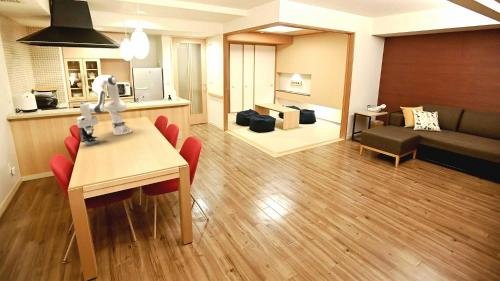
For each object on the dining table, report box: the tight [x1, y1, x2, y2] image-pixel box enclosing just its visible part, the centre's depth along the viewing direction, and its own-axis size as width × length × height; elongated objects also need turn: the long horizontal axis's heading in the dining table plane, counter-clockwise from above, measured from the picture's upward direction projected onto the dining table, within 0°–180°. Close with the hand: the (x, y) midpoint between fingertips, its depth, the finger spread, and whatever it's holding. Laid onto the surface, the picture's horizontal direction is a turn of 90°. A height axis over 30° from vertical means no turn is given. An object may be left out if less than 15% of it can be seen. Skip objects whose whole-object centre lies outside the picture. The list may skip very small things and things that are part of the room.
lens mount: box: [84, 138, 99, 147], centre depth 289 cm, size 9×9×4 cm
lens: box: [86, 126, 93, 135], centre depth 285 cm, size 5×5×8 cm
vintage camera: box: [78, 127, 99, 142], centre depth 298 cm, size 10×16×20 cm, turn 78°
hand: (89, 130), depth 285 cm, fingers closed on lens, 5 cm apart
